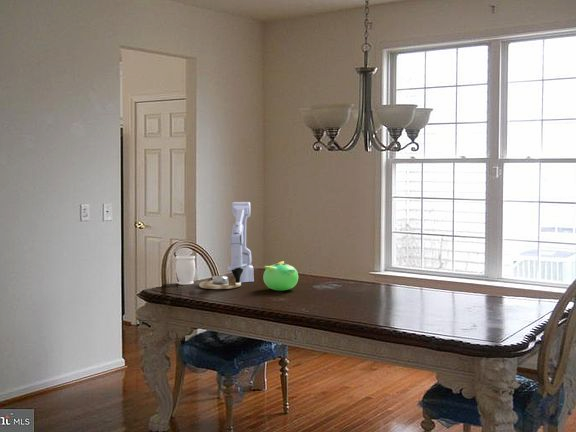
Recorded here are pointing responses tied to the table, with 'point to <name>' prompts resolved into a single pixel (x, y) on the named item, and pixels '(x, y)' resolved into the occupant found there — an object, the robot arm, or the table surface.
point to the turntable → (210, 285)
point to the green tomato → (280, 276)
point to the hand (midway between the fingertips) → (237, 282)
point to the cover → (220, 280)
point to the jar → (185, 269)
